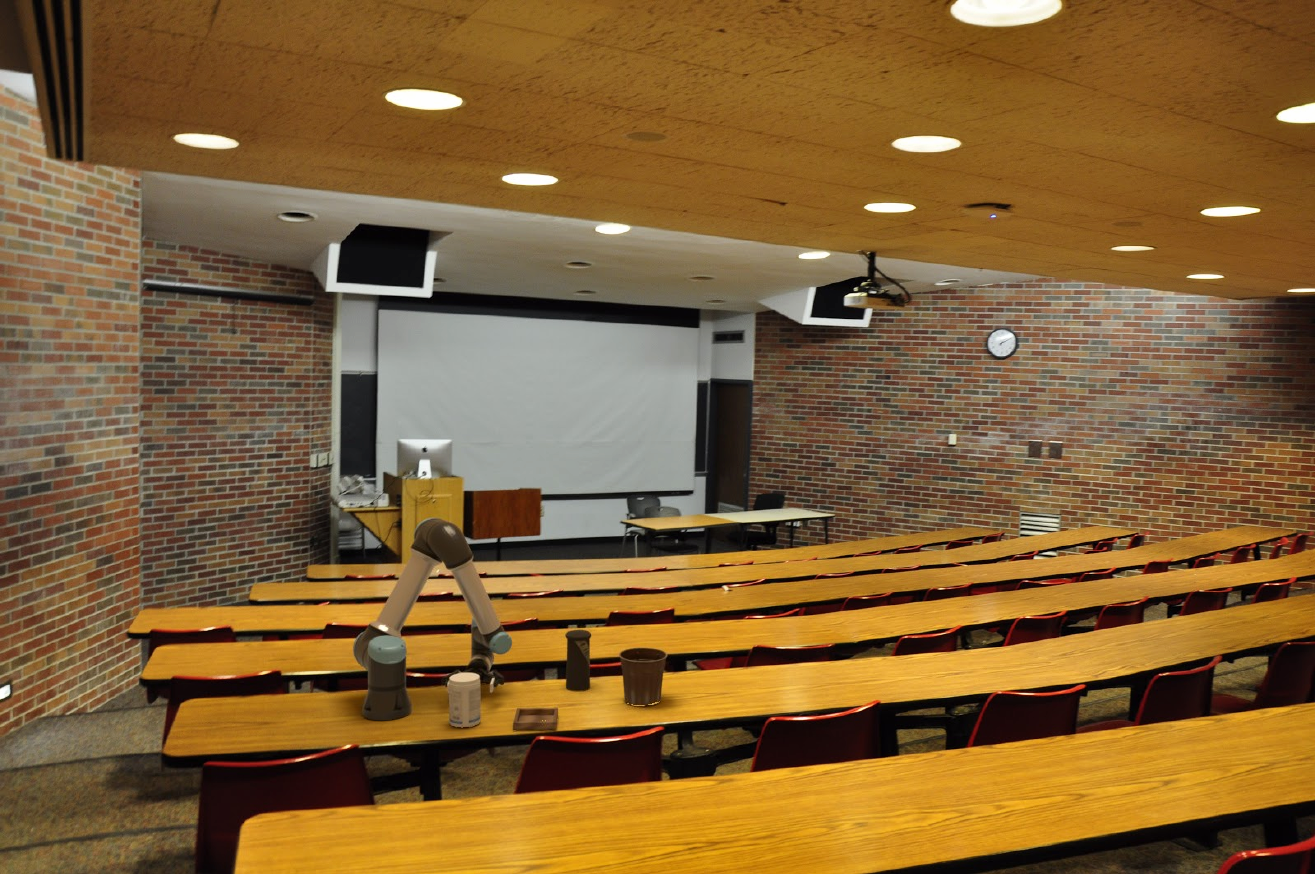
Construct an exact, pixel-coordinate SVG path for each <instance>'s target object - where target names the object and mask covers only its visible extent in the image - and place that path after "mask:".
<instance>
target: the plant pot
mask: <svg viewBox="0 0 1315 874" xmlns="http://www.w3.org/2000/svg"><path fill="white" fill-rule="evenodd" d="M618 656H619V658H620V667H621V670H622V671H621V672H622V683H623V685H622V686H623V697H624V698H623V699H624V702H625V703H626V702H627V703H629V704H633V705H647V706H648V704H652V703H655V702H659V701H660V700H661V699H662V689H663V679H664V670H665V667H666V662H667V661H666V660H667V657H668V653H667V652H666V651H664V650H662V649H659V648H654V647H653V648H652V647H631V648H627V649H623V650H622V651H620V652H619V653H618ZM660 702H661V701H660ZM627 703H626V704H627ZM629 704H628V705H629Z"/></svg>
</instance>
